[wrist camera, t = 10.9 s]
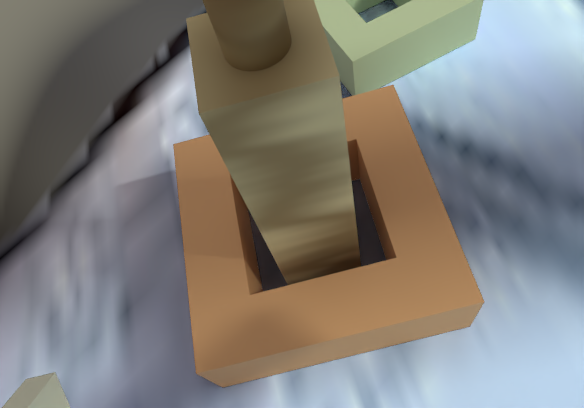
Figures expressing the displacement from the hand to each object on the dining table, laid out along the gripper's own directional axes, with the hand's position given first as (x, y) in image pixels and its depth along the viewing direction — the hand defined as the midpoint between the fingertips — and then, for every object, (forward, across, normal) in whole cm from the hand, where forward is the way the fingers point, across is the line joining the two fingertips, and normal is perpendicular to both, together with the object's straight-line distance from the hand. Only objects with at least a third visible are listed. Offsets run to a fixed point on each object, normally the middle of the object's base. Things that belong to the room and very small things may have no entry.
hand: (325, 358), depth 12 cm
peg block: (+12, 0, -2) cm, 12 cm away
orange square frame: (+12, 0, -2) cm, 12 cm away
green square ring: (+21, +7, +8) cm, 24 cm away
